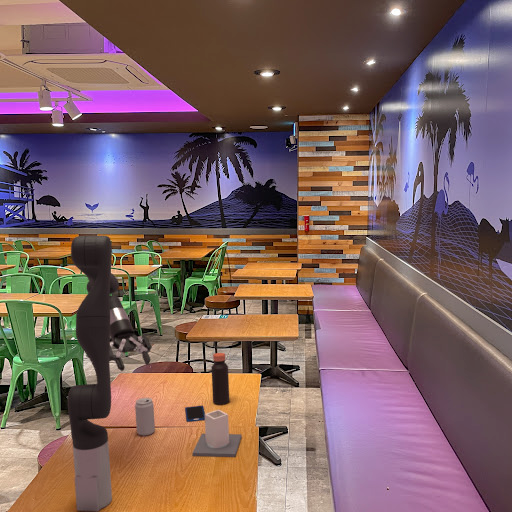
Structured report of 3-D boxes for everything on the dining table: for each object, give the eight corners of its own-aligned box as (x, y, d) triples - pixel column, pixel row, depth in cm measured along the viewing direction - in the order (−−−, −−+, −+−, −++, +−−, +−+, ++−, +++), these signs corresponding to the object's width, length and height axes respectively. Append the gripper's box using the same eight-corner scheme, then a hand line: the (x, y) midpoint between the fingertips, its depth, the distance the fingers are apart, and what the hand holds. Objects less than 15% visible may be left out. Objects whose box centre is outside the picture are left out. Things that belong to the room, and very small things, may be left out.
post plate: (235, 456, 165) (234, 436, 165) (192, 455, 167) (191, 435, 166) (241, 437, 179) (240, 417, 178) (202, 436, 181) (201, 417, 180)
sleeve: (229, 443, 173) (228, 414, 172) (215, 448, 169) (213, 419, 168) (219, 437, 177) (218, 409, 176) (206, 442, 174) (204, 414, 172)
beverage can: (150, 437, 182) (148, 404, 180) (133, 436, 183) (131, 403, 182) (157, 429, 188) (155, 397, 187) (141, 428, 189) (139, 396, 188)
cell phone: (186, 423, 193) (186, 421, 193) (184, 408, 207) (184, 407, 207) (206, 421, 194) (206, 419, 194) (203, 407, 208) (203, 405, 208)
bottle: (214, 406, 207) (212, 357, 205) (211, 400, 214) (209, 353, 212) (231, 404, 209) (229, 355, 207) (227, 398, 215) (225, 351, 213)
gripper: (100, 321, 164) (117, 365, 156) (141, 314, 173) (159, 355, 165) (95, 335, 169) (111, 377, 161) (135, 327, 177) (152, 367, 170)
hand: (135, 366), depth 163 cm, fingers open, 8 cm apart
